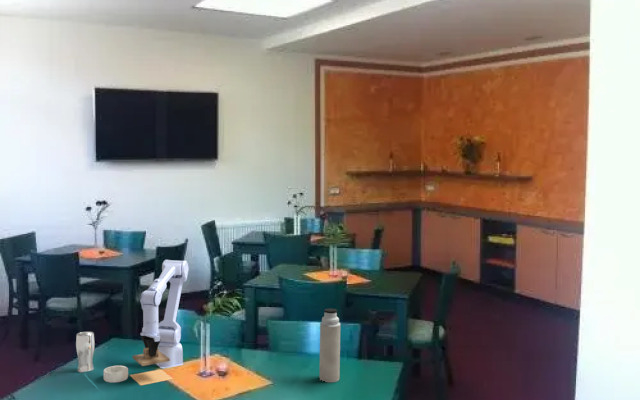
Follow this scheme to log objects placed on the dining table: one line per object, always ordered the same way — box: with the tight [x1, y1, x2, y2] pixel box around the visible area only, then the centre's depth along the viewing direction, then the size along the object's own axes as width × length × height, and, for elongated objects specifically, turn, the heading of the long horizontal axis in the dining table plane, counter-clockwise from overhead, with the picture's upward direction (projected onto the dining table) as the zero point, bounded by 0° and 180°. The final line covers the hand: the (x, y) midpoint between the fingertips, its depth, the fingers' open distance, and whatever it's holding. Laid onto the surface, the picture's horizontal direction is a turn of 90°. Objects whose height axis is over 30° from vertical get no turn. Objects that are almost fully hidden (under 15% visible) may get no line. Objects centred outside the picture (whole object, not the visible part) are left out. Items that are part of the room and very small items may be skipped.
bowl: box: [103, 365, 129, 383], centre depth 254 cm, size 9×9×4 cm
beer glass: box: [75, 331, 95, 374], centre depth 263 cm, size 7×7×15 cm
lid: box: [132, 347, 170, 367], centre depth 255 cm, size 11×11×4 cm
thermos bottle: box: [318, 308, 341, 383], centre depth 257 cm, size 8×8×28 cm
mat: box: [129, 368, 174, 386], centre depth 256 cm, size 13×13×1 cm
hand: (151, 355), depth 255 cm, fingers closed on lid, 3 cm apart
